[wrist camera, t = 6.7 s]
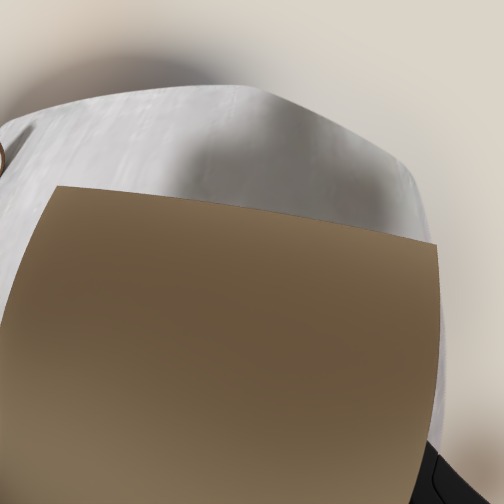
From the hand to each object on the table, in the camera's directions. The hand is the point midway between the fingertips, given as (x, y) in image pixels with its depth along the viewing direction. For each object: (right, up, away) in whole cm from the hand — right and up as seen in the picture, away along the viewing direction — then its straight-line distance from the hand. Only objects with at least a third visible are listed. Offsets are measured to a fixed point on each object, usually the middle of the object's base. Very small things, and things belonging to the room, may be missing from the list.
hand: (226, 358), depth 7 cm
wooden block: (0, -4, +5) cm, 7 cm away
